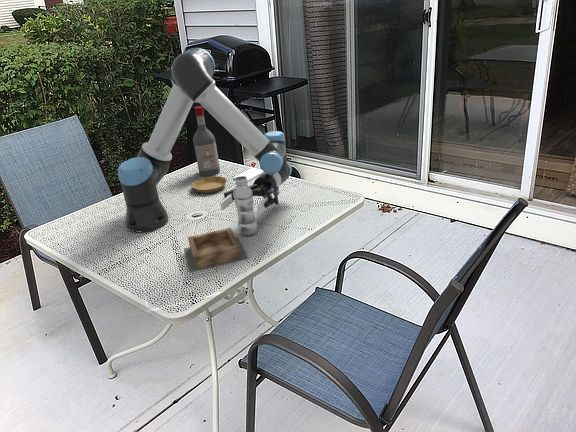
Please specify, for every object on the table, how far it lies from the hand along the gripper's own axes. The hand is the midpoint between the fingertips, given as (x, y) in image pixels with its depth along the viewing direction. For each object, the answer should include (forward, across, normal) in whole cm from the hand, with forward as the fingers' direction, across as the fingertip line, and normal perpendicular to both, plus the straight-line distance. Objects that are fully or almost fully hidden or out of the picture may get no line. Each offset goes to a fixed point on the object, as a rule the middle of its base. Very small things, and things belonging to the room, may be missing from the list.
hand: (239, 208), depth 159 cm
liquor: (-54, +45, -11) cm, 71 cm away
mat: (+12, +4, -11) cm, 17 cm away
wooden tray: (+12, +4, -11) cm, 16 cm away
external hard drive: (-53, +24, -12) cm, 60 cm away
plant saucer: (-38, +35, -12) cm, 53 cm away
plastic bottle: (-3, 0, -11) cm, 12 cm away
